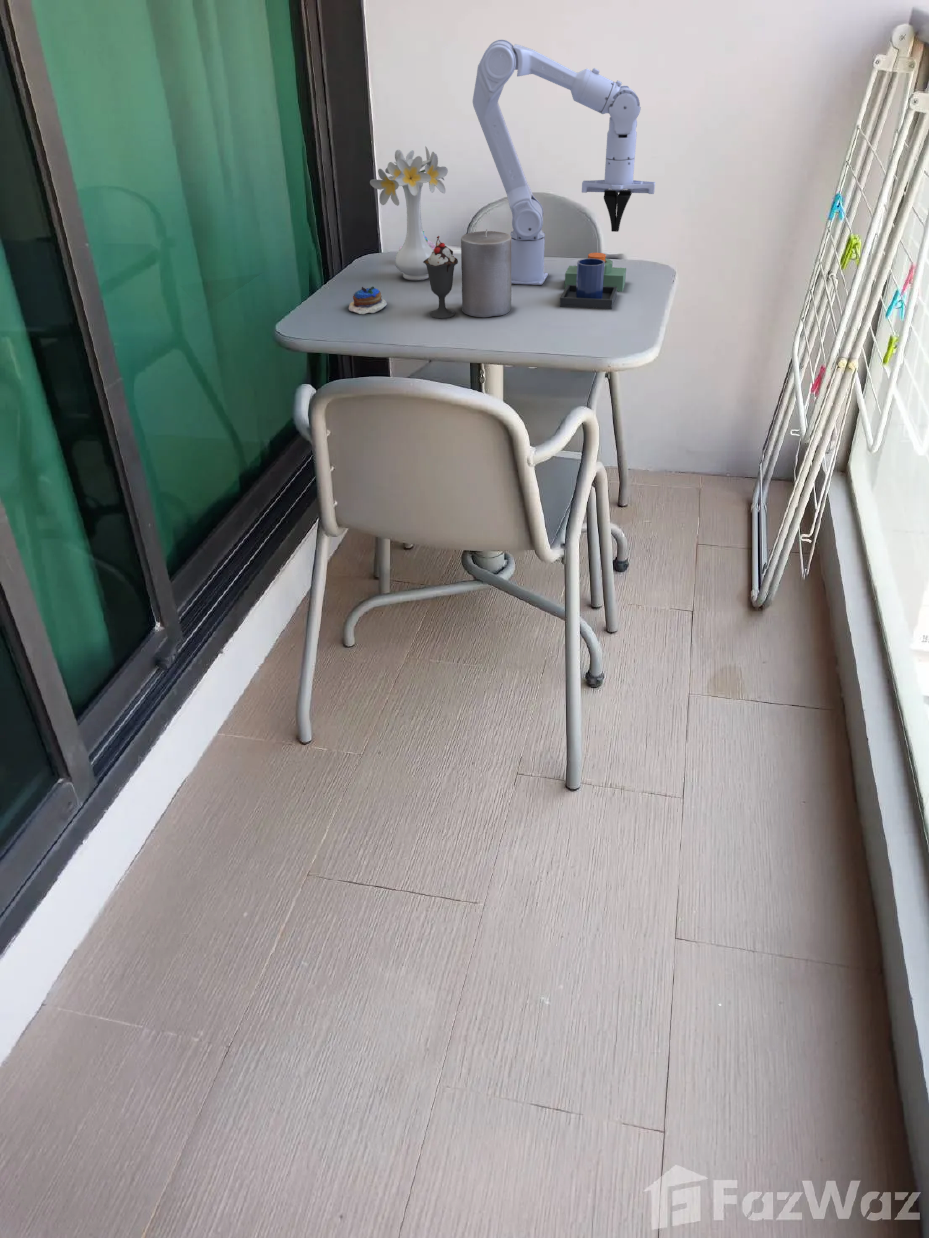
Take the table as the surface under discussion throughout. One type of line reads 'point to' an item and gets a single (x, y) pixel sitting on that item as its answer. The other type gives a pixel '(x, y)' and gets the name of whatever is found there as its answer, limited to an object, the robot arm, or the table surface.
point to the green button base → (611, 276)
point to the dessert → (367, 301)
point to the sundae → (441, 276)
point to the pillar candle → (486, 273)
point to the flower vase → (411, 206)
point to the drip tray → (588, 299)
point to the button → (597, 256)
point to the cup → (590, 278)
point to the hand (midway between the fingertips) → (615, 230)
